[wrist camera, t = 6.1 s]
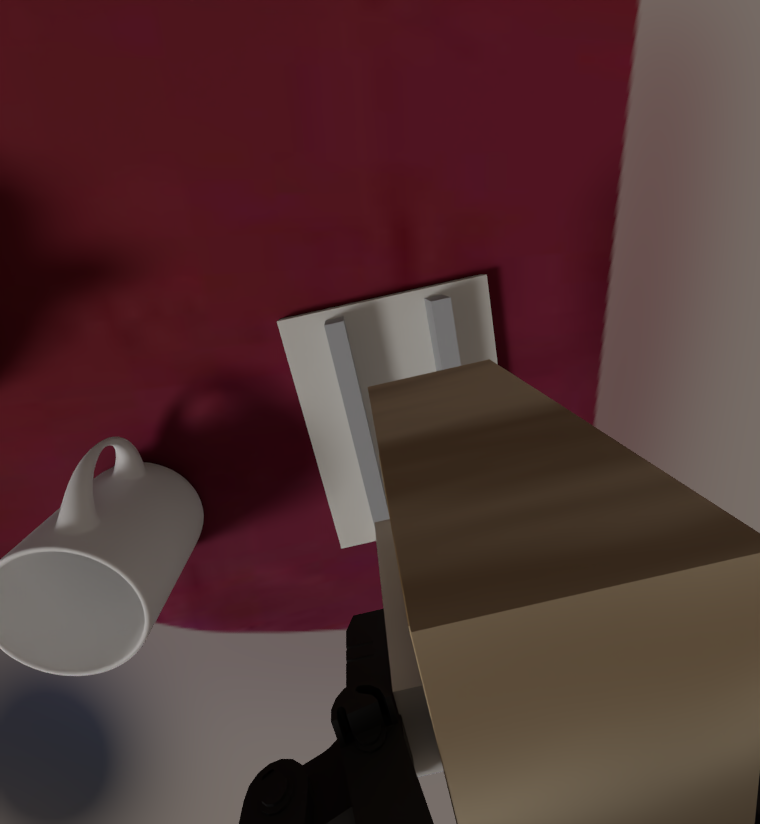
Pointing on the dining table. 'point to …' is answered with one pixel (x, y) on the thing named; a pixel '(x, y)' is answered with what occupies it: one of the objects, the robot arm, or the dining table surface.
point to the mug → (98, 566)
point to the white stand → (375, 379)
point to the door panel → (568, 611)
